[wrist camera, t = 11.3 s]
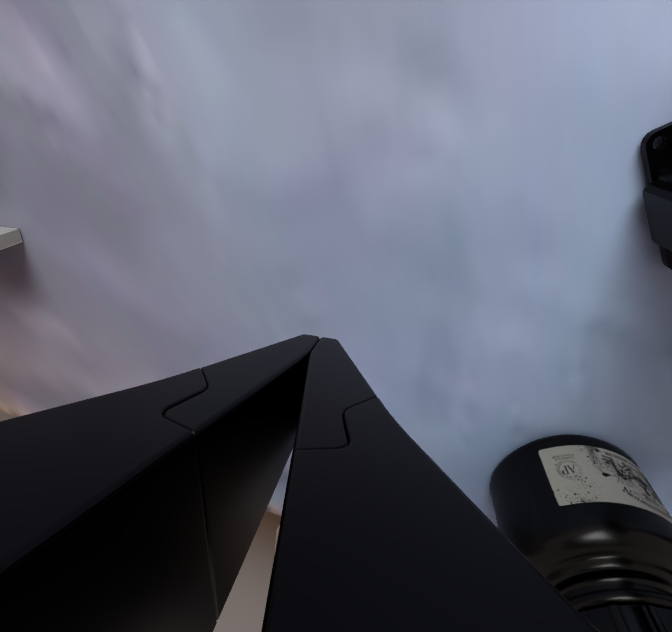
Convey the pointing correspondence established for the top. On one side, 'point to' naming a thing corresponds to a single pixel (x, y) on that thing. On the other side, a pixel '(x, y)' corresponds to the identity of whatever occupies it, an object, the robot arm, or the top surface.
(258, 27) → the top surface
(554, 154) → the top surface
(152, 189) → the top surface
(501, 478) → the ink bottle
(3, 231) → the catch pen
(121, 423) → the robot arm
